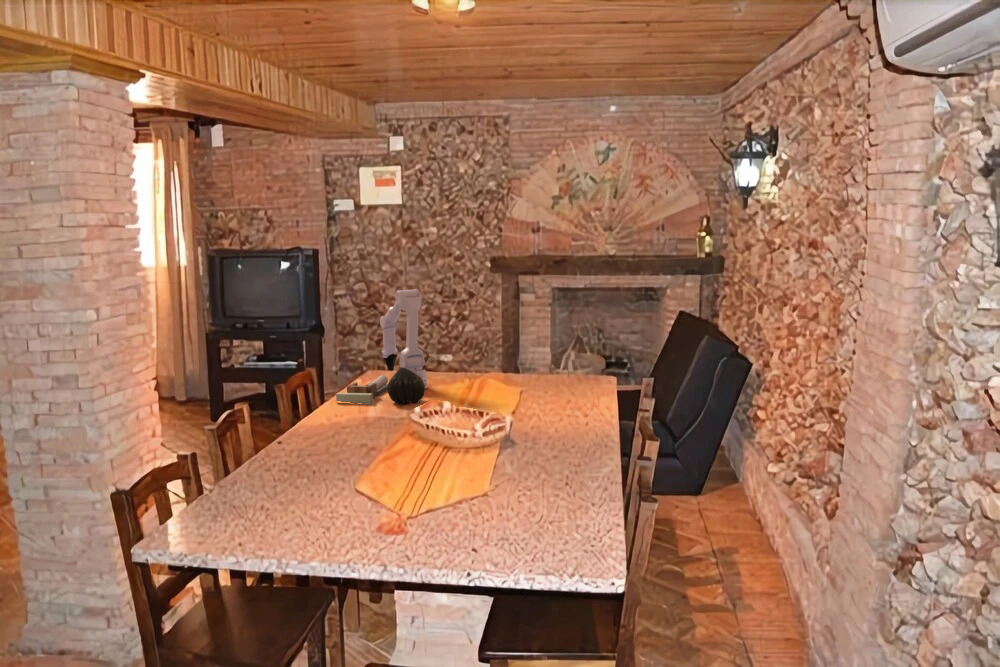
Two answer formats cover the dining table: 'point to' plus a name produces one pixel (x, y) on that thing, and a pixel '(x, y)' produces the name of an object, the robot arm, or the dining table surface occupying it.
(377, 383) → the tube
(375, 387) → the socket block
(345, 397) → the wall
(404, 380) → the squash
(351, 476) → the dining table surface
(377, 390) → the guide rails
